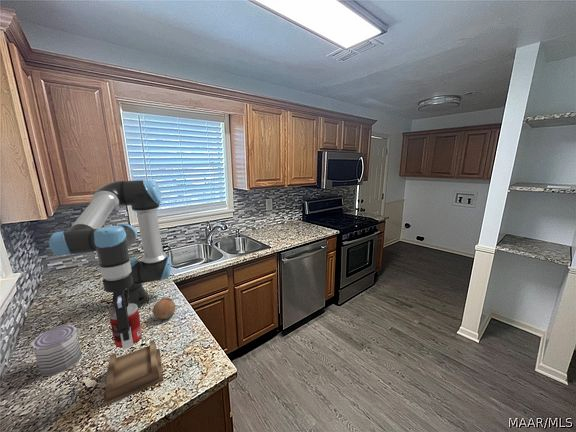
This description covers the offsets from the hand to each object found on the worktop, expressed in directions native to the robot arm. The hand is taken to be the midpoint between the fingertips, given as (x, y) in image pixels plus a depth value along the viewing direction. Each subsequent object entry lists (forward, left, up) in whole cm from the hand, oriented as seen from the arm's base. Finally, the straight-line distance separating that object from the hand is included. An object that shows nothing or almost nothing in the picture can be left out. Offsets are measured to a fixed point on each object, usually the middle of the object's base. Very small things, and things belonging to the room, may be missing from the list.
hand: (128, 338), depth 77 cm
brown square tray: (0, 0, -14) cm, 14 cm away
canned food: (0, 0, 0) cm, 0 cm away
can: (-21, -23, -14) cm, 34 cm away
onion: (-30, +12, -14) cm, 35 cm away
